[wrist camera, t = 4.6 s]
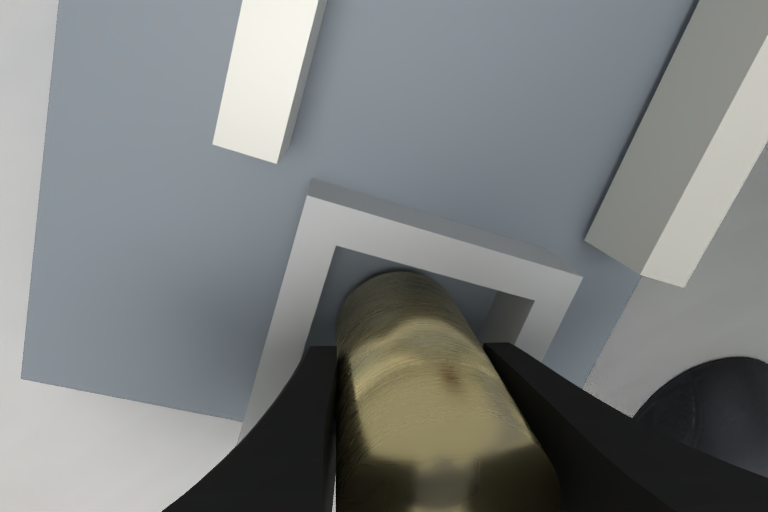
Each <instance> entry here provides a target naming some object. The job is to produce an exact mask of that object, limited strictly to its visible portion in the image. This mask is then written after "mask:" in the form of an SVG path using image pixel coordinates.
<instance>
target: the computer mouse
mask: <svg viewBox="0 0 768 512" xmlns="http://www.w3.org/2000/svg"><path fill="white" fill-rule="evenodd" d="M632 419H634V420H636V421H638V422H640V423H642V424H644V425H646V426H648V427H650V428H652V429H654V430H656V431H658V432H660V433H662V434H664V435H666V436H668V437H670V438H672V439H674V440H676V441H679V442H681V443H683V444H685V445H688V446H690V447H692V448H694V449H696V450H699V451H701V452H704V453H706V454H708V455H711V456H713V457H716V458H718V459H720V460H723V461H725V462H728V463H730V464H732V465H735V466H737V467H740V468H743V469H745V470H748V471H751V472H753V473H756V474H759V475H761V476H764V477H767V478H768V364H766V363H765V362H762V361H759V360H754V359H750V358H730V359H724V360H719V361H715V362H711V363H708V364H705V365H702V366H699V367H697V368H694V369H692V370H690V371H688V372H686V373H684V374H682V375H680V376H679V377H677V378H675V379H674V380H672V381H671V382H669V383H668V384H666V385H665V386H664V387H663V388H661V389H660V390H659V391H657V392H656V393H655V394H654V395H653V396H652V397H651V398H650V399H649V400H648V401H647V402H646V403H645V404H644V405H643V406H642V407H641V408H640V409H639V411H638V412H637V413H636V414H635V416H634V417H633V418H632Z"/></svg>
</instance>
